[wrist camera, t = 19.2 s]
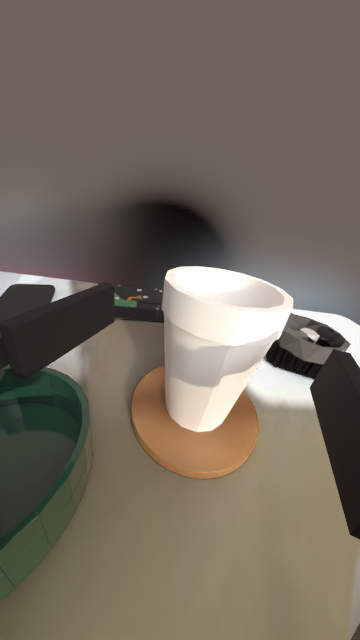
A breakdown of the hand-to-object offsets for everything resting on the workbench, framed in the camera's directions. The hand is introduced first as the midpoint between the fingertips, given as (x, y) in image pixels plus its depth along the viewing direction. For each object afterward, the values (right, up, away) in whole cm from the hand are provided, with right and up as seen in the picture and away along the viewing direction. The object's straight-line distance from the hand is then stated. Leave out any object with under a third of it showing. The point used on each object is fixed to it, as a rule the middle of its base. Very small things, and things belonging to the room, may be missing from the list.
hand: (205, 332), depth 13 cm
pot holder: (0, -9, +10) cm, 13 cm away
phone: (-28, +3, +23) cm, 37 cm away
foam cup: (0, -8, +9) cm, 12 cm away
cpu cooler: (+17, -6, +21) cm, 28 cm away
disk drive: (-11, +3, +28) cm, 31 cm away
